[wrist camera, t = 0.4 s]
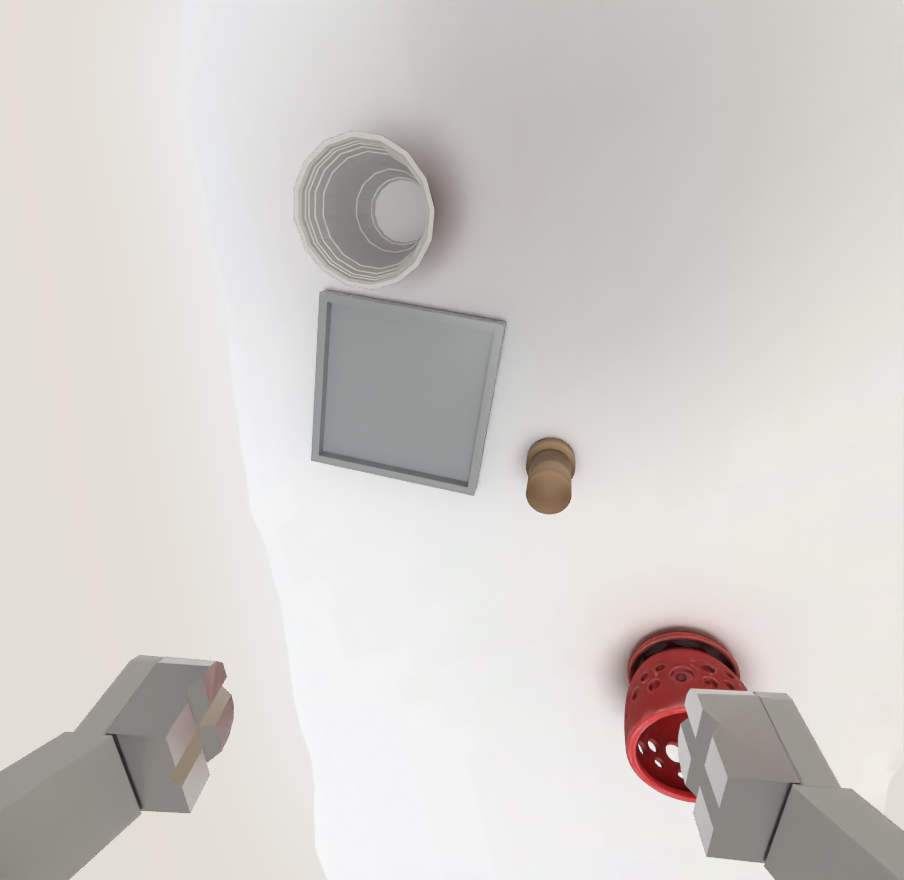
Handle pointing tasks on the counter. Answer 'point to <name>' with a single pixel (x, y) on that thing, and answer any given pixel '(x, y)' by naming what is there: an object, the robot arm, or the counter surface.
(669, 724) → the plant pot
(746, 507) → the counter surface
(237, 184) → the counter surface
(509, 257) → the counter surface
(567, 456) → the walnut pestle
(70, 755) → the robot arm
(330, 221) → the plastic cup
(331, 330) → the grey tray
